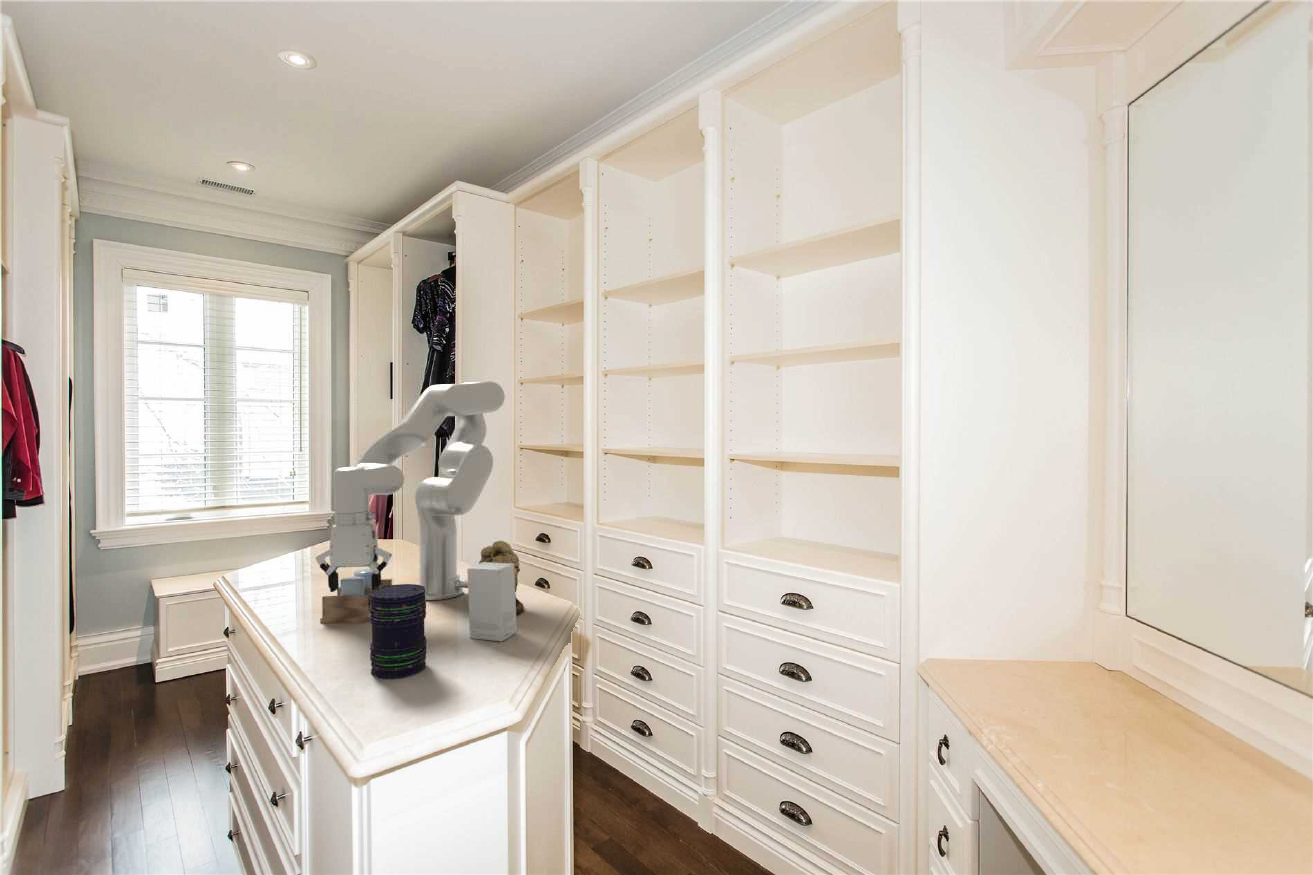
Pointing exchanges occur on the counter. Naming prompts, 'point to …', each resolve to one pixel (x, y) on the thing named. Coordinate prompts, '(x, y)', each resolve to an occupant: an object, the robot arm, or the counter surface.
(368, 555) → the robot arm
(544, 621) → the counter surface
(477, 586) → the skincare box
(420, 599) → the storage jar
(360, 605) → the rack
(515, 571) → the brown rough rounded piece
